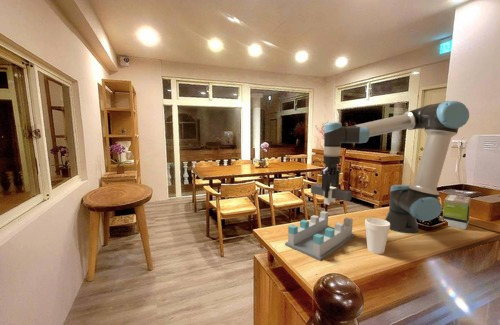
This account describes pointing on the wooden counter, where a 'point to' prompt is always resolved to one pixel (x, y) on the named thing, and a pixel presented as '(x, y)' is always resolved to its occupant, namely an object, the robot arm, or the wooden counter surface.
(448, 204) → the tea box
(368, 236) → the foam cup
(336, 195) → the grey banded pillar
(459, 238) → the wooden counter surface
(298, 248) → the grey peg rack
